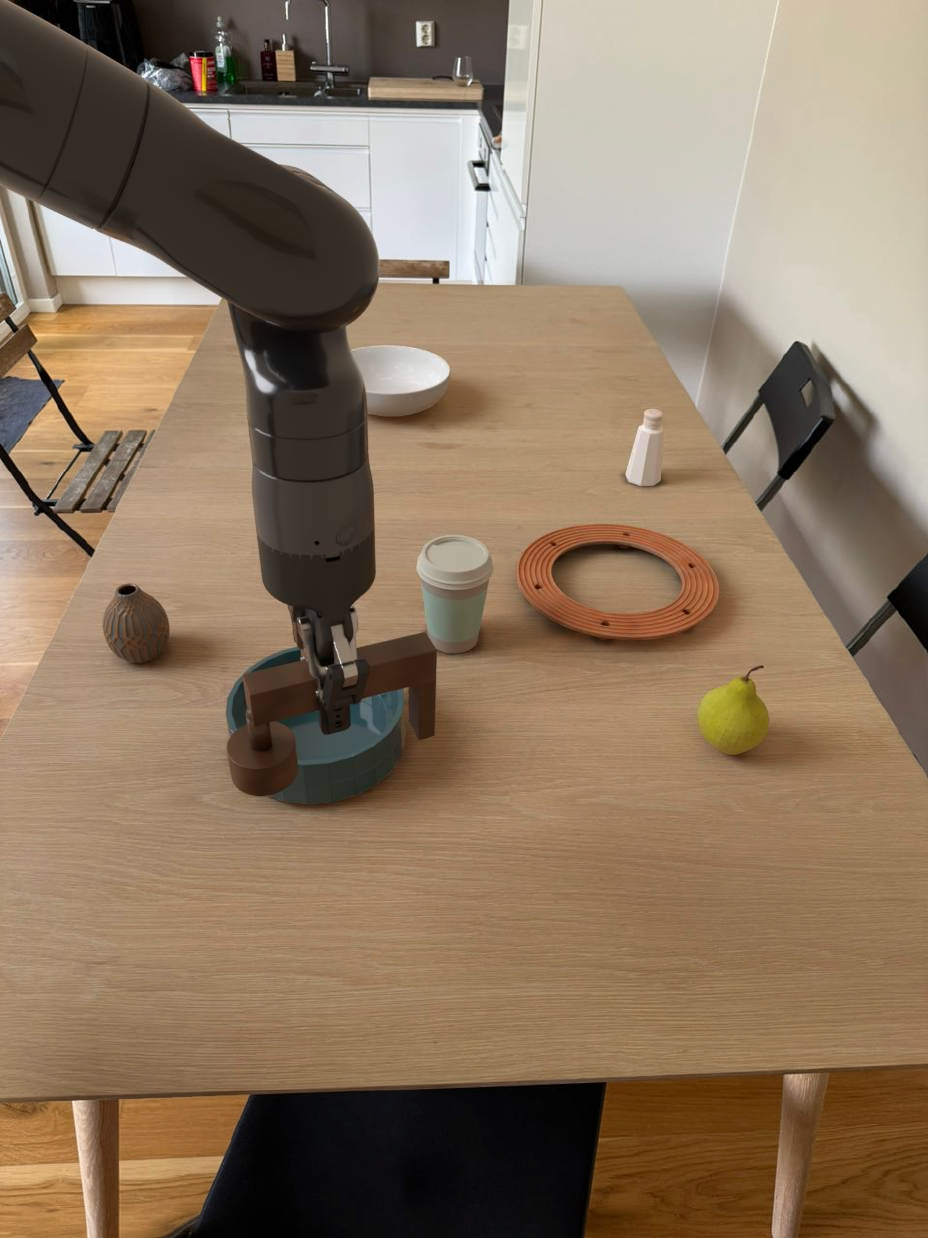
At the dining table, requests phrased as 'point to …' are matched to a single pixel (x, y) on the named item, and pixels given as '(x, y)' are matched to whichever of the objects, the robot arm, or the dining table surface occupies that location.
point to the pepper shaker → (647, 451)
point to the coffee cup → (454, 590)
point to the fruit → (734, 716)
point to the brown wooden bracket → (289, 690)
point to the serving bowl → (401, 379)
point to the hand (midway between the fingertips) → (329, 715)
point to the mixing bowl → (333, 742)
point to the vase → (135, 625)
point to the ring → (561, 609)
